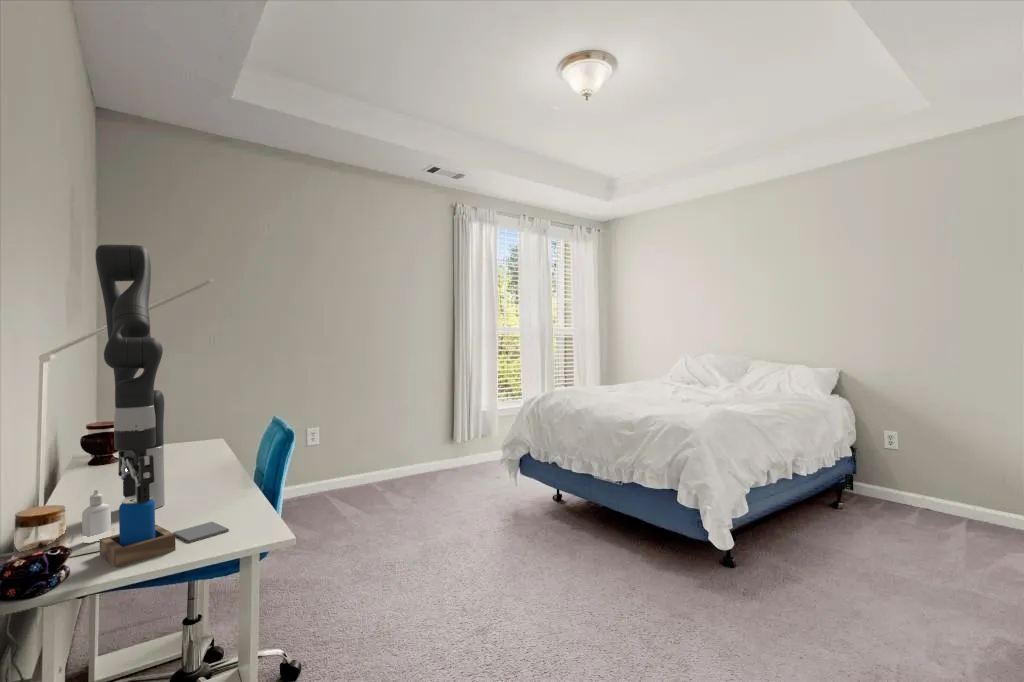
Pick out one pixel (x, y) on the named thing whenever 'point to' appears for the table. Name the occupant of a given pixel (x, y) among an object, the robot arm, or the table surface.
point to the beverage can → (136, 521)
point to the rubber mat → (200, 531)
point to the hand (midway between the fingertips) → (136, 499)
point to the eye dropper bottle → (96, 516)
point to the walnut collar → (136, 548)
